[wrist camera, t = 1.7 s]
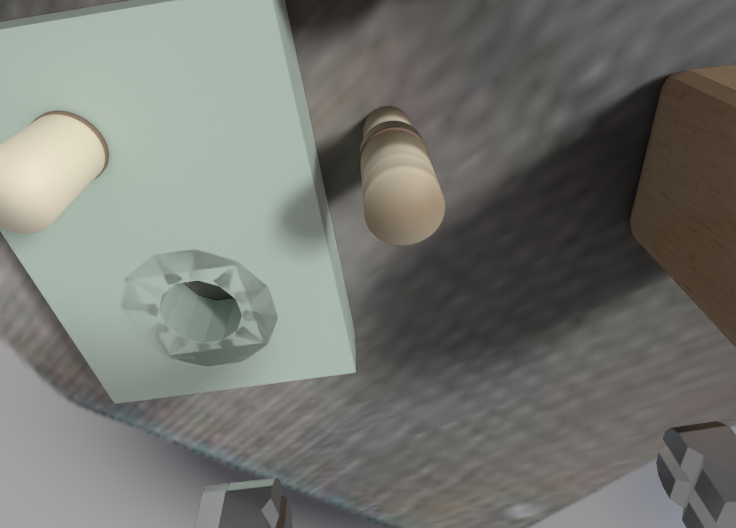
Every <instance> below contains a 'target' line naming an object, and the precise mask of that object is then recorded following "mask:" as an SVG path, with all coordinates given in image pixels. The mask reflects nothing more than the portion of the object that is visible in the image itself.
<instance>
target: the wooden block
mask: <svg viewBox="0 0 736 528" xmlns="http://www.w3.org/2000/svg"><path fill="white" fill-rule="evenodd" d="M630 226H631V231H632V234H633V236H634V237H635V238H636V240H637V241H638V242H639V243H640V244H641V245H642V246H643V247H644V248H645V249H646V250H647V252H648V253H649V254H650V255H651V256H652V257H653V258H654V259H655V260H656V261H657V262H658V263H659V265H660V266H661V267H662V268H663V269H664V270H665V271H666V272H667V273H668V274H669V275H670V277H671V278H672V279H673V280H674V281H675V282H676V283H677V284H678V285H679V286H680V287H681V288H682V290H683V291H684V292H685V293H686V294H687V295H688V296H689V297H690V298H691V299H692V300H693V302H694V303H695V304H696V305H697V306H698V307H699V308H700V309H701V310H702V311H703V312H704V313H705V315H706V316H707V317H708V318H709V319H710V320H711V321H712V322H713V323H714V324H715V325H716V326H717V328H718V329H719V330H720V331H721V332H722V333H723V334H724V335H725V336H726V337H727V338H728V340H729V341H730V342H731V343H732V344H733V345H734V346H735V347H736V64H735V65H726V66H717V67H708V68H699V69H690V70H685V71H681V72H678V73H676V74H673V75H671V76H668V78H667V79H666V81H665V83H664V84H663V86H662V88H661V92H660V96H659V100H658V104H657V109H656V113H655V117H654V121H653V125H652V130H651V134H650V138H649V142H648V146H647V150H646V155H645V159H644V163H643V167H642V171H641V175H640V180H639V184H638V188H637V192H636V196H635V200H634V205H633V209H632V213H631V217H630Z"/></svg>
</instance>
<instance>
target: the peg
mask: <svg viewBox="0 0 736 528" xmlns="http://www.w3.org/2000/svg"><path fill="white" fill-rule="evenodd" d="M359 167H360V172H361V177H362V190H363V204H364V216H365V221H366V223H367V226H368V228H369V229H370V231H371V232H372V233H373V234H374V235H375V236H376V237H377V238H379V239H380V240H382V241H384V242H387V243H390V244H393V245H410V244H415V243H418V242H420V241H423V240H424V239H426V238H428V237H429V236H430V235H432V234H433V233H434V232H435V231H436V230H437V228H438V227H439V226H440V224H441V222H442V220H443V217H444V213H445V201H444V197H443V194H442V192H441V189H440V186H439V183H438V181H437V178H436V175H435V172H434V170H433V167H432V164H431V162H430V159H429V153H428V150H427V147H426V145H425V143H424V141H423V139H422V138H421V136H420V134H419V133H418V131H417V130H416V129H415V128H414V127H413V126H412V124H411V121H410V119H409V117H408V116H407V114H406V113H405V112H404V111H402V110H401V109H399V108H396V107H392V106H385V107H381V108H378V109H376V110H374V111H373V112H372V113H371V114H369V116H368V117H367V118H366V120H365V122H364V125H363V140H362V143H361V146H360V155H359Z"/></svg>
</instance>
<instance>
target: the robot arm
mask: <svg viewBox="0 0 736 528" xmlns="http://www.w3.org/2000/svg"><path fill="white" fill-rule="evenodd" d="M663 440H664V442H665V443H666V445H667V446H666V447H665V448H663V449H662V450H661V451H660V452H659V453H658V458H657V462H656V463H657V469H658V475H659V478H660V480H661V483H662V486H663V488H664V489H665V491H666V493H667V495H668V496H669V498H670V499H671V500H673V501H674V502H675V503H677V504H678V505H680V506H681V507H683V508H684V509H683V517H682V521H683V522H684V524H685V526H686V528H736V419H734V420H727V421H720V422H717V421H715V422H708V423H701V424H694V425H687V426H680V427H673V428H669V429H668V430H666V431H665V434H664V437H663ZM281 492H282V485H281V483H280V481H279V479H278V478H270V479H261V480H253V481H246V482H236V483H225V484H218V485H210V486H207V487H206V488H205V490H204V492H203V494H202V497H201V501H200V505H199V509H198V513H197V516H196V520H195V525H194V528H292V513H291V508H290V504H289V502H288V499H287V498H286V497H284V496H282V495H281Z"/></svg>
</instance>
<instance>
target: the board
mask: <svg viewBox="0 0 736 528" xmlns="http://www.w3.org/2000/svg"><path fill="white" fill-rule="evenodd" d="M0 232H1V233H2V235H3V236H4V238H5V239H6V241H7V242H8V244H9V245H10V247H11V248H12V250H13V251H14V253H15V254H16V256H17V257H18V259H19V260H20V262H21V263H22V265H23V266H24V268H25V269H26V271H27V272H28V274H29V275H30V277H31V278H32V280H33V281H34V283H35V284H36V286H37V287H38V289H39V290H40V292H41V294H42V295H43V297H44V298H45V300H46V301H47V303H48V304H49V306H50V307H51V309H52V310H53V312H54V313H55V315H56V316H57V318H58V319H59V321H60V322H61V324H62V325H63V327H64V328H65V330H66V331H67V333H68V334H69V336H70V337H71V339H72V340H73V342H74V343H75V345H76V346H77V348H78V349H79V351H80V352H81V354H82V355H83V357H84V358H85V360H86V361H87V363H88V364H89V366H90V367H91V369H92V370H93V372H94V373H95V375H96V376H97V378H98V379H99V381H100V382H101V384H102V385H103V387H104V388H105V390H106V391H107V393H108V394H109V396H110V398H111V399H112V401H113V402H114V404H118V403H126V402H134V401H141V400H149V399H157V398H164V397H172V396H180V395H187V394H195V393H203V392H210V391H218V390H226V389H233V388H241V387H249V386H256V385H264V384H272V383H279V382H287V381H295V380H302V379H310V378H318V377H325V376H333V375H341V374H349V373H356V361H355V330H354V325H353V320H352V316H351V311H350V306H349V301H348V297H347V292H346V287H345V282H344V278H343V273H342V268H341V263H340V259H339V254H338V249H337V244H336V240H335V235H334V230H333V225H332V221H331V216H330V211H329V206H328V202H327V197H326V192H325V188H324V183H323V178H322V173H321V169H320V164H319V159H318V154H317V150H316V145H315V140H314V135H313V131H312V126H311V121H310V116H309V112H308V107H307V102H306V97H305V93H304V88H303V83H302V78H301V74H300V69H299V64H298V59H297V55H296V50H295V45H294V40H293V36H292V31H291V26H290V21H289V17H288V12H287V7H286V2H285V0H129V1H123V2H117V3H111V4H105V5H99V6H93V7H87V8H81V9H75V10H69V11H63V12H57V13H51V14H45V15H39V16H33V17H27V18H21V19H15V20H10V21H4V22H0ZM191 281H202V282H205V283H209V284H212V285H216V286H220V287H221V288H222V289H224V290H225V291H226V292H227V293H229V294H230V295H231V296H232V297H233V298H232V299H224V300H213V299H210V298H206V297H202V296H199V295H197V294H196V293H195V292H194V291H192V290H191V289H190V288H188V287H187V286H186V285H185V284H184V282H191Z"/></svg>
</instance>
